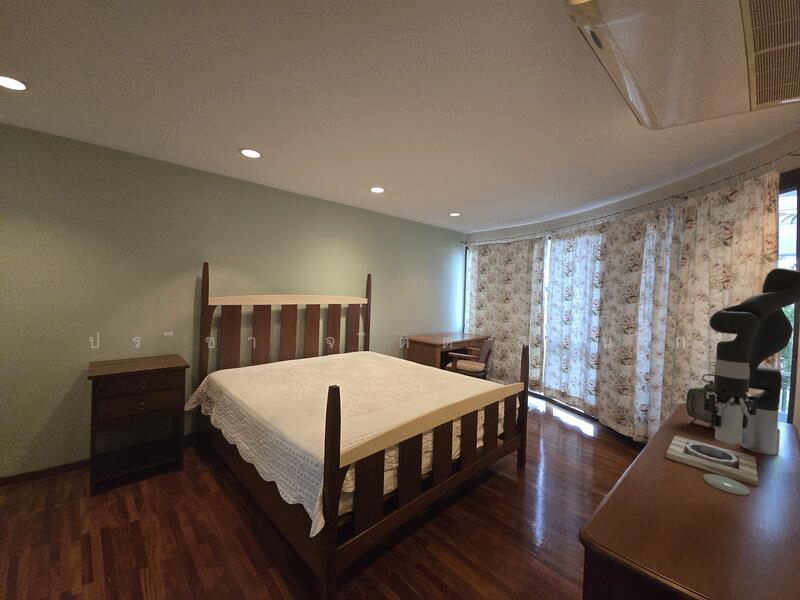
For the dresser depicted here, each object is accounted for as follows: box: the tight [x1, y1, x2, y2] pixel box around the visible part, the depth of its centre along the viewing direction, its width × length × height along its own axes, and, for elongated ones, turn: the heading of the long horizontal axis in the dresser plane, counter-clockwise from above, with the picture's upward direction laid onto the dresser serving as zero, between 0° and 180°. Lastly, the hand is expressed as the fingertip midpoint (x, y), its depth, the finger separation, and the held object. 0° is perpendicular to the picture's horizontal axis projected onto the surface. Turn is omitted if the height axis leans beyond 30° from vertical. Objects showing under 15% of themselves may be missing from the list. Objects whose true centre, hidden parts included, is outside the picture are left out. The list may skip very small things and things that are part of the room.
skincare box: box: [714, 402, 743, 445], centre depth 97 cm, size 6×4×12 cm
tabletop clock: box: [685, 373, 717, 428], centre depth 142 cm, size 14×9×25 cm, turn 23°
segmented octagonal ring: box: [685, 443, 739, 469], centre depth 113 cm, size 13×13×3 cm
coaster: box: [703, 473, 751, 496], centre depth 97 cm, size 10×10×1 cm
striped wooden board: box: [666, 435, 759, 487], centre depth 113 cm, size 22×22×2 cm
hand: (728, 426), depth 97 cm, fingers closed on skincare box, 7 cm apart
